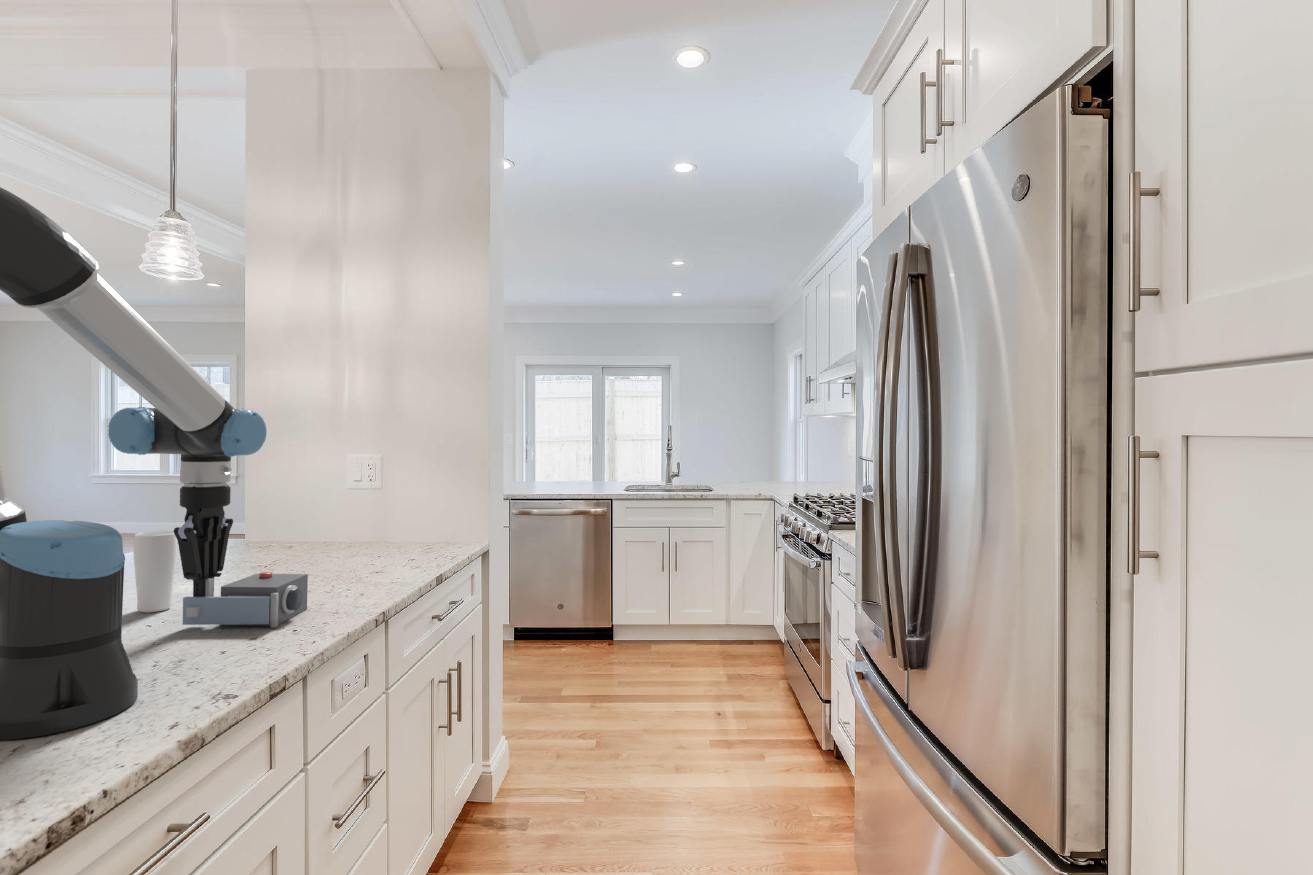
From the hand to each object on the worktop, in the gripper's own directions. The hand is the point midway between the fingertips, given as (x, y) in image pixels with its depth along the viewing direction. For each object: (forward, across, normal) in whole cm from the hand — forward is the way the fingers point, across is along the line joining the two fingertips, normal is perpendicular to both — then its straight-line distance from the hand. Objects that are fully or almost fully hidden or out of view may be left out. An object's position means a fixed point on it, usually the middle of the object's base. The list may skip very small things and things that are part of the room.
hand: (203, 614), depth 116 cm
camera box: (+2, +5, -8) cm, 10 cm away
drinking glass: (+2, +10, +15) cm, 18 cm away
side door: (+2, -2, -6) cm, 7 cm away
